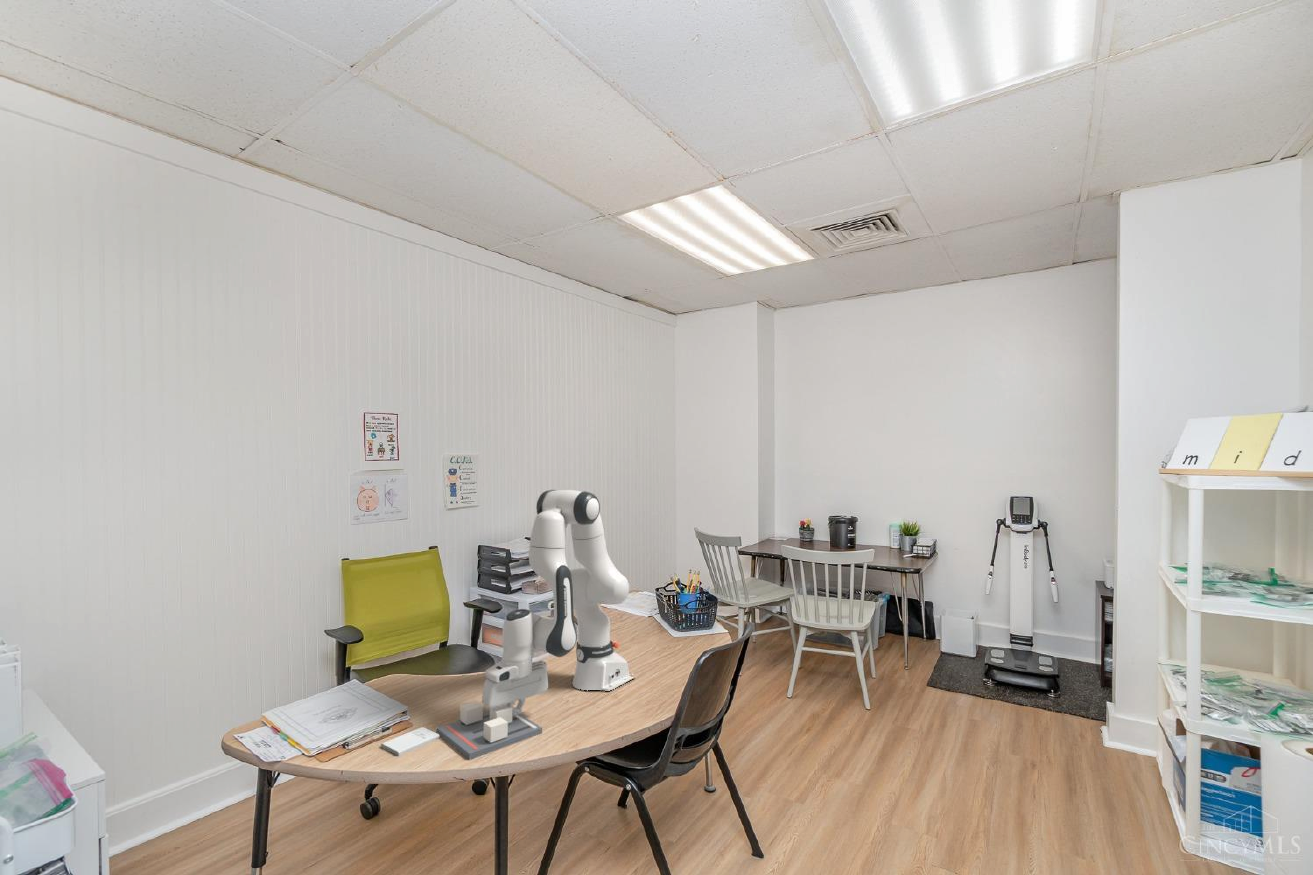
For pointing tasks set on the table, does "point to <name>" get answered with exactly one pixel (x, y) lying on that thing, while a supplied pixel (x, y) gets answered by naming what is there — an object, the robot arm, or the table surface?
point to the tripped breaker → (502, 713)
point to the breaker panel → (472, 739)
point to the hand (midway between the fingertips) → (515, 714)
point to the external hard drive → (410, 741)
